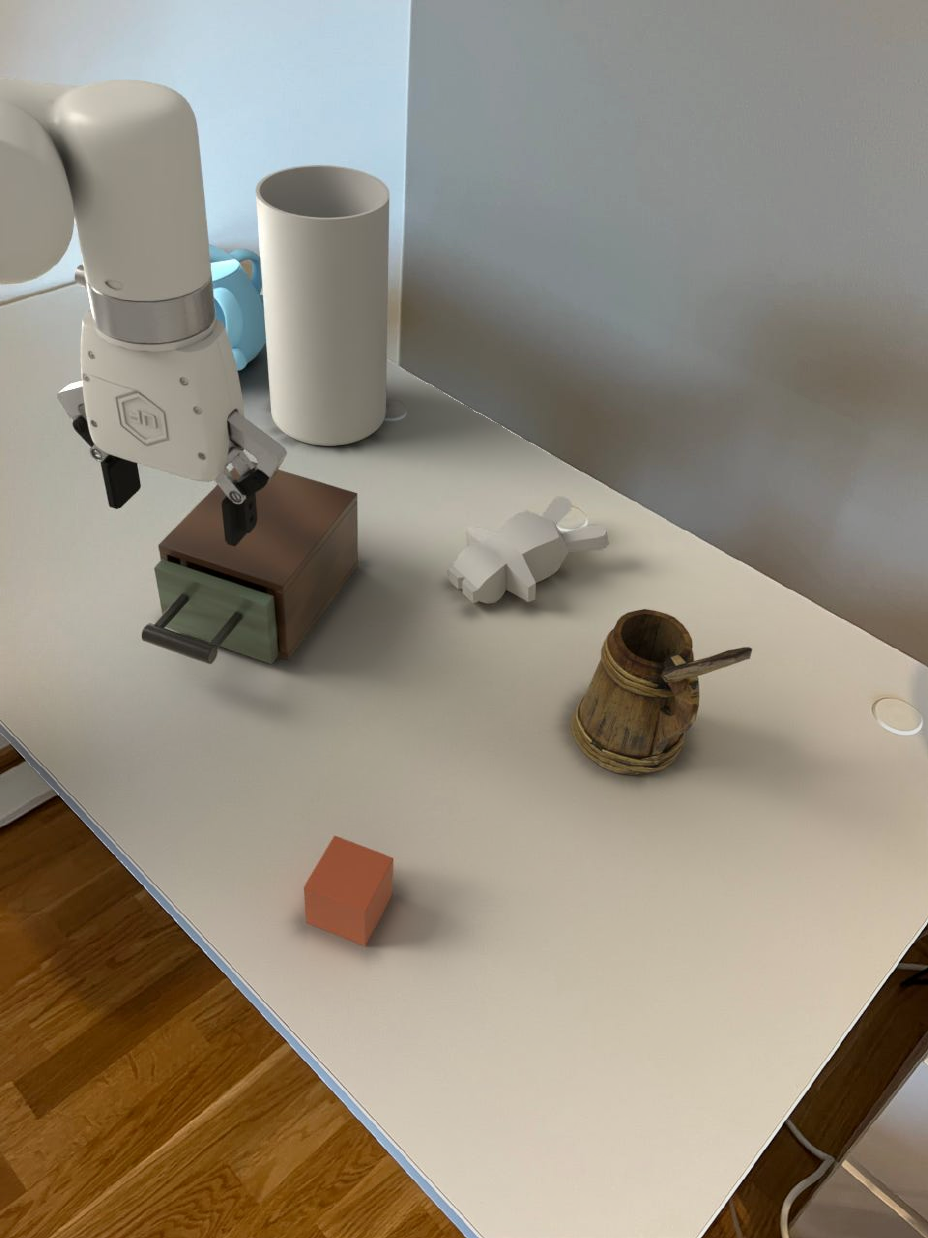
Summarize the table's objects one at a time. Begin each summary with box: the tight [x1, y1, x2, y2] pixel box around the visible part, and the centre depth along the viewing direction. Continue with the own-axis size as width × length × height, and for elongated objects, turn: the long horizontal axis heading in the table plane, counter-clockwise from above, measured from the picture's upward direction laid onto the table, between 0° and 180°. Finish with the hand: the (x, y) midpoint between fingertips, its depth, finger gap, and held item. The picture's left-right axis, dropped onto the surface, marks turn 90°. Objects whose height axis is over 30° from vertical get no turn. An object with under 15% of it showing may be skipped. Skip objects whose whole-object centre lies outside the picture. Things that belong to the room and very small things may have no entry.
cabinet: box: [157, 460, 359, 661], centre depth 94 cm, size 14×12×9 cm
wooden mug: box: [570, 608, 753, 776], centre depth 80 cm, size 9×14×18 cm, turn 20°
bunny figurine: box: [447, 495, 610, 605], centre depth 100 cm, size 10×5×15 cm
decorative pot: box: [209, 243, 266, 371], centre depth 120 cm, size 16×16×14 cm
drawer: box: [141, 558, 279, 665], centre depth 91 cm, size 18×10×7 cm, turn 158°
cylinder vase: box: [255, 164, 390, 447], centre depth 109 cm, size 12×12×25 cm
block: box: [303, 835, 395, 947], centre depth 73 cm, size 4×4×4 cm
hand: (182, 516), depth 79 cm, fingers open, 9 cm apart
